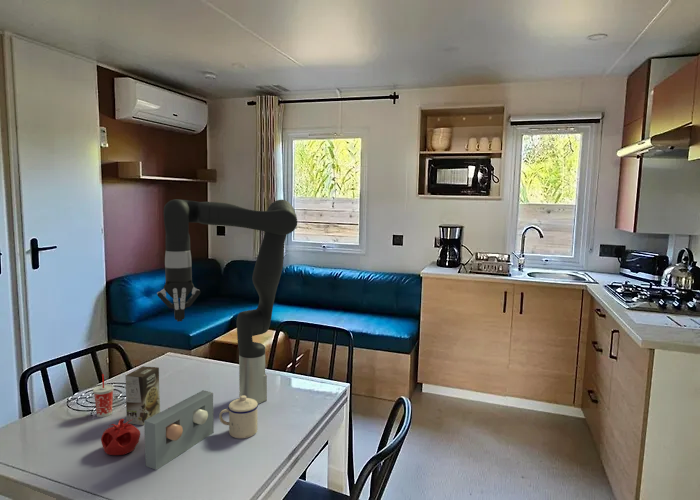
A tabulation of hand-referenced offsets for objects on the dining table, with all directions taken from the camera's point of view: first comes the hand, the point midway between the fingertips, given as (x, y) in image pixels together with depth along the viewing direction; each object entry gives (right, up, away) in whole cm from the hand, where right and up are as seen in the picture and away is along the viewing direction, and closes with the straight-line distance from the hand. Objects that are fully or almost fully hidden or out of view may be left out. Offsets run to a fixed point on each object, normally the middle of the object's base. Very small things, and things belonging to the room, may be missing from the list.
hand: (179, 320), depth 139 cm
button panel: (+3, -36, -7) cm, 37 cm away
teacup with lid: (+18, -36, +2) cm, 40 cm away
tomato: (-14, -36, -9) cm, 40 cm away
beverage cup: (-30, -34, +12) cm, 47 cm away
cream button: (+6, -30, -3) cm, 30 cm away
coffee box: (-16, -34, +10) cm, 39 cm away
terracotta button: (+1, -31, -12) cm, 33 cm away
